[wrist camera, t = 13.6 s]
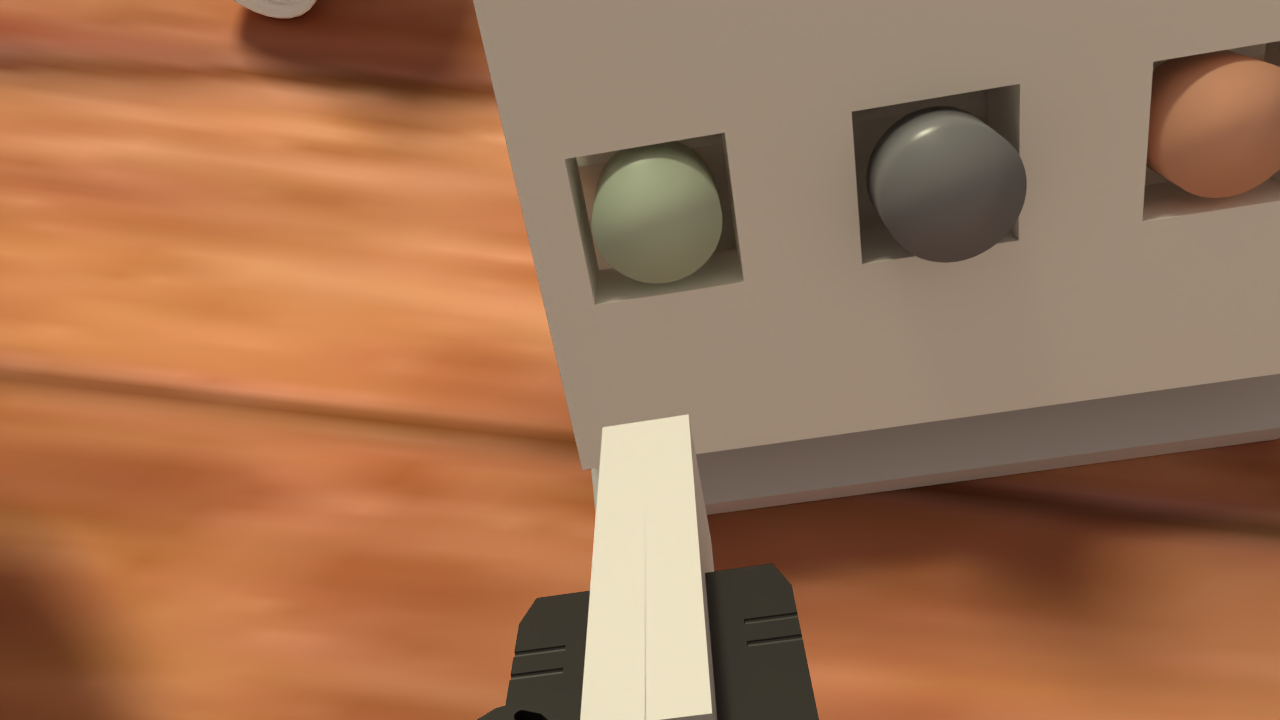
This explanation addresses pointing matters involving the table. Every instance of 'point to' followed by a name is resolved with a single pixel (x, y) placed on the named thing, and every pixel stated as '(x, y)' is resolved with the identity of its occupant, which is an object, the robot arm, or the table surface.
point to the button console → (892, 239)
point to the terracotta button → (1215, 123)
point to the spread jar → (278, 7)
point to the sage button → (657, 212)
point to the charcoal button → (945, 184)
